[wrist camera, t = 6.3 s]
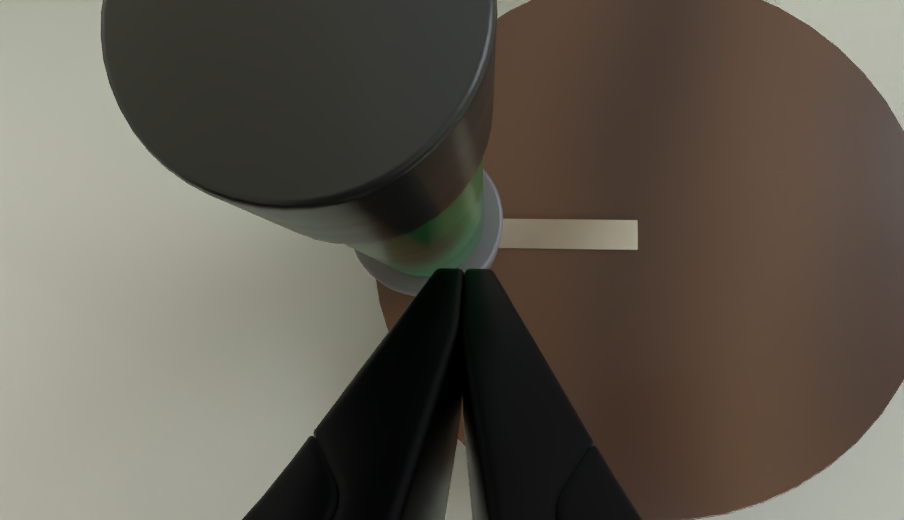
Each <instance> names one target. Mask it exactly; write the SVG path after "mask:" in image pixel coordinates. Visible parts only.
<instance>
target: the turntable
mask: <svg viewBox="0 0 904 520" xmlns="http://www.w3.org/2000/svg"><path fill="white" fill-rule="evenodd" d="M101 42H102V51H103V60H104V64H105V68H106V72H107V76H108V80H109V84H110V86H111V89H112V91H113V94H114V96H115V98H116V101H117V103H118V106H119V108H120V110H121V112H122V113H123V115H124V117H125V118H126V120H127V122H128V124H129V125H130V127H131V129H132V131H133V132H134V133H135V135H136V136H137V137H138V138H139V140H140V141H141V142H142V144H143V145H144V146H145V147H146V149H147V150H148V151H149V152H150V153H151V154H152V155H153V156H154V157H155V158H156V159H157V160H158V161H159V162H160V163H161V164H162V165H163V166H164V167H166V168H167V169H168V170H169V171H171V172H172V173H174V174H175V175H176V176H178V177H179V178H180V179H182V180H183V181H185V182H186V183H188V184H190V185H191V186H193V187H195V188H197V189H199V190H201V191H203V192H205V193H207V194H209V195H211V196H213V197H215V198H218V199H220V200H222V201H225V202H227V203H229V204H232V205H234V206H236V207H239V208H241V209H243V210H245V211H248V212H250V213H252V214H255V215H257V216H259V217H262V218H264V219H266V220H269V221H271V222H273V223H276V224H278V225H280V226H283V227H285V228H287V229H290V230H292V231H294V232H297V233H299V234H302V235H305V236H307V237H310V238H313V239H316V240H320V241H325V242H330V243H337V244H345V245H347V246H349V247H351V248H353V249H354V250H355V252H356V254H357V256H358V258H359V260H360V261H361V263H362V264H363V266H364V267H365V268H366V270H367V271H368V272H369V273H370V274H371V275H372V276H373V277H374V278H375V279H376V283H377V289H378V295H379V301H380V305H381V308H382V312H383V315H384V318H385V322H386V325H387V328H388V332H389V331H390V330H391V328H392V327H393V326H394V324H395V323H396V322H397V320H398V319H399V318H400V316H401V315H402V314H403V312H404V311H405V310H406V308H407V307H408V306H409V304H410V303H411V302H412V301H413V299H414V298H415V297H416V295H417V294H418V293H419V291H420V290H421V289H422V287H423V286H424V285H425V283H426V282H427V281H428V279H429V278H430V277H431V275H432V274H433V273H434V271H435V270H437V269H438V268H460V269H462V270H463V271H464V274H465V271H466V270H467V269H491V270H493V271H494V273H495V274H496V276H497V278H498V279H499V281H500V283H501V285H502V286H503V288H504V290H505V291H506V293H507V295H508V296H509V298H510V300H511V302H512V303H513V305H514V307H515V308H516V310H517V312H518V313H519V315H520V317H521V319H522V320H523V322H524V324H525V325H526V327H527V329H528V330H529V332H530V334H531V336H532V337H533V339H534V341H535V342H536V344H537V346H538V347H539V349H540V351H541V353H542V354H543V356H544V358H545V359H546V361H547V363H548V364H549V366H550V368H551V370H552V371H553V373H554V375H555V376H556V378H557V380H558V381H559V383H560V385H561V387H562V388H563V390H564V392H565V393H566V395H567V397H568V398H569V400H570V402H571V403H572V405H573V407H574V409H575V410H576V412H577V414H578V415H579V417H580V419H581V420H582V422H583V424H584V426H585V427H586V429H587V431H588V432H589V434H590V436H591V437H592V439H593V441H594V443H593V446H597V447H598V449H599V451H600V452H601V454H602V456H603V457H604V459H605V461H606V462H607V464H608V466H609V468H610V469H611V471H612V473H613V474H614V476H615V477H616V479H617V481H618V482H619V484H620V485H621V487H622V488H623V490H624V492H625V493H626V495H627V496H628V498H629V500H630V501H631V503H632V504H633V506H634V507H635V509H636V511H637V512H638V513H639V515H640V516H641V518H642V519H643V520H695V519H701V518H707V517H713V516H720V515H726V514H729V513H732V512H735V511H739V510H742V509H745V508H749V507H752V506H755V505H758V504H762V503H764V502H766V501H768V500H770V499H773V498H775V497H777V496H779V495H781V494H783V493H786V492H788V491H790V490H792V489H794V488H796V487H798V486H800V485H801V484H803V483H804V482H806V481H807V480H809V479H811V478H812V477H814V476H815V475H817V474H818V473H820V472H821V471H823V470H824V469H826V468H828V467H829V466H830V465H831V464H832V463H834V462H835V461H836V460H837V459H838V458H839V457H841V456H842V455H843V454H844V453H845V452H846V451H848V450H849V449H850V448H851V447H852V446H853V445H854V444H856V443H857V442H858V441H859V439H860V438H861V437H862V436H863V435H864V434H865V433H866V431H867V430H868V429H869V428H870V427H871V426H872V425H873V423H874V422H875V421H876V420H877V419H878V418H879V416H880V415H881V414H882V413H883V411H884V410H885V408H886V407H887V405H888V404H889V402H890V400H891V399H892V397H893V396H894V394H895V393H896V391H897V390H898V388H899V386H900V385H901V383H902V382H903V379H904V131H903V129H902V128H901V126H900V124H899V123H898V121H897V119H896V117H895V116H894V114H893V112H892V111H891V109H890V107H889V106H888V104H887V102H886V101H885V100H884V98H883V97H882V96H881V95H880V93H879V92H878V91H877V89H876V88H875V87H874V86H873V84H872V83H871V82H870V80H869V79H868V78H867V77H866V75H865V74H864V73H863V72H862V71H861V70H860V69H859V68H858V67H857V66H856V65H855V64H854V63H853V62H852V61H851V60H850V59H849V58H848V57H847V56H846V55H845V54H844V53H843V52H842V51H841V50H840V49H839V48H838V47H836V46H835V45H834V44H833V43H831V42H830V41H829V40H827V39H826V38H825V37H823V36H822V35H821V34H820V33H818V32H817V31H816V30H814V29H813V28H812V27H810V26H809V25H807V24H806V23H804V22H802V21H801V20H799V19H797V18H795V17H794V16H792V15H790V14H789V13H787V12H785V11H784V10H782V9H780V8H778V7H776V6H774V5H771V4H769V3H767V2H765V1H762V0H531V1H529V2H527V3H525V4H523V5H521V6H519V7H517V8H515V9H513V10H510V11H509V12H507V13H506V14H504V15H502V16H501V17H499V18H498V19H497V0H103V4H102V11H101ZM458 440H460V441H461V442H462V443H463V444H464V445H465V446H466V444H465V434H464V422H463V397H462V411H461V419H460V426H459V433H458Z"/></svg>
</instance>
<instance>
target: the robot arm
mask: <svg viewBox="0 0 904 520" xmlns="http://www.w3.org/2000/svg"><path fill="white" fill-rule="evenodd" d="M462 397H463V422H464V434H465V444H466V455H467V465H468V476H469V486H470V497H471V507H472V518H473V520H643V519H642V518H641V516H640V515H639V513H638V512H637V511H636V509H635V507H634V506H633V504H632V503H631V501H630V500H629V498H628V496H627V495H626V493H625V492H624V490H623V488H622V487H621V485H620V484H619V482H618V481H617V479H616V477H615V476H614V474H613V473H612V471H611V469H610V468H609V466H608V464H607V462H606V461H605V459H604V457H603V456H602V454H601V452H600V451H599V449H598V447H597V446H593V443H594V441H593V439H592V437H591V436H590V434H589V432H588V431H587V429H586V427H585V426H584V424H583V422H582V420H581V419H580V417H579V415H578V414H577V412H576V410H575V409H574V407H573V405H572V403H571V402H570V400H569V398H568V397H567V395H566V393H565V392H564V390H563V388H562V387H561V385H560V383H559V381H558V380H557V378H556V376H555V375H554V373H553V371H552V370H551V368H550V366H549V364H548V363H547V361H546V359H545V358H544V356H543V354H542V353H541V351H540V349H539V347H538V346H537V344H536V342H535V341H534V339H533V337H532V336H531V334H530V332H529V330H528V329H527V327H526V325H525V324H524V322H523V320H522V319H521V317H520V315H519V313H518V312H517V310H516V308H515V307H514V305H513V303H512V302H511V300H510V298H509V296H508V295H507V293H506V291H505V290H504V288H503V286H502V285H501V283H500V281H499V279H498V278H497V276H496V274H495V273H494V271H493V270H491V269H467V270H466V271H465V274H464V271H463V270H462V269H460V268H438V269H437V270H435V271H434V273H433V274H432V275H431V277H430V278H429V279H428V281H427V282H426V283H425V285H424V286H423V287H422V289H421V290H420V291H419V293H418V294H417V295H416V297H415V298H414V299H413V301H412V302H411V303H410V304H409V306H408V307H407V308H406V310H405V311H404V312H403V314H402V315H401V316H400V318H399V319H398V320H397V322H396V323H395V324H394V326H393V327H392V328H391V330H390V331H389V332H388V334H387V335H386V336H385V338H384V339H383V340H382V342H381V343H380V344H379V346H378V347H377V348H376V350H375V351H374V352H373V354H372V355H371V356H370V357H369V359H368V360H367V361H366V363H365V364H364V365H363V367H362V368H361V369H360V371H359V372H358V373H357V375H356V376H355V377H354V379H353V380H352V381H351V383H350V384H349V385H348V387H347V388H346V389H345V391H344V392H343V393H342V395H341V396H340V397H339V399H338V400H337V401H336V403H335V404H334V405H333V407H332V408H331V409H330V410H329V412H328V413H327V414H326V416H325V417H324V418H323V420H322V421H321V422H320V424H319V425H318V426H317V428H316V429H315V430H314V436H310V437H309V438H308V439H307V440H306V442H305V443H304V444H303V446H302V447H301V448H300V450H299V451H298V453H297V454H296V455H295V457H294V458H293V459H292V461H291V462H290V463H289V464H288V466H287V467H286V468H285V469H284V470H283V472H282V473H281V474H280V475H279V477H278V478H277V479H276V480H275V482H274V483H273V484H272V485H271V487H270V488H269V489H268V490H267V492H266V493H265V494H264V495H263V497H262V498H261V499H260V500H259V501H258V502H257V503H256V504H255V506H254V507H253V508H252V509H251V510H250V511H249V512H248V513H247V515H246V516H245V517H244V518H243V519H242V520H444V519H445V513H446V506H447V500H448V494H449V488H450V482H451V476H452V470H453V463H454V457H455V451H456V445H457V439H458V433H459V426H460V419H461V411H462Z"/></svg>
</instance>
